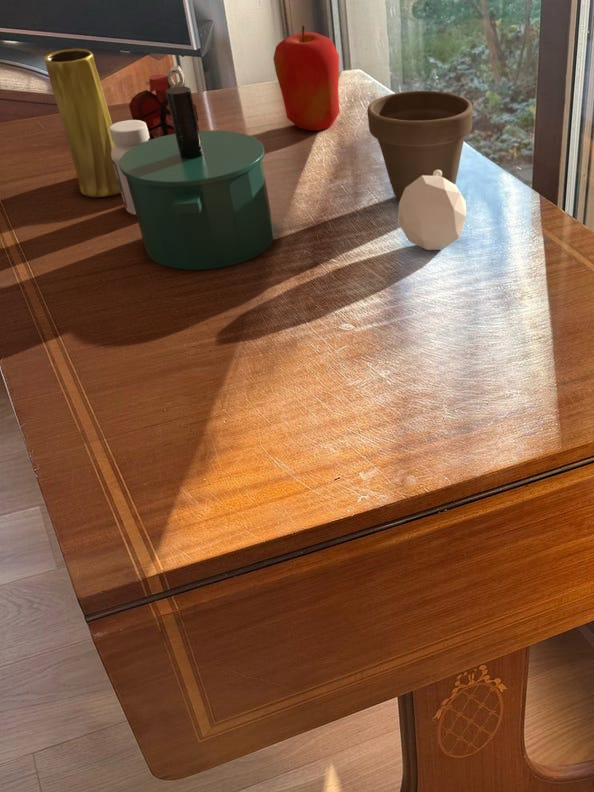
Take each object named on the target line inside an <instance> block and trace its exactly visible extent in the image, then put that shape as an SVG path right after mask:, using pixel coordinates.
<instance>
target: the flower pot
mask: <svg viewBox="0 0 594 792" xmlns="http://www.w3.org/2000/svg"><path fill="white" fill-rule="evenodd" d="M473 112H474V105H473V103H472V102H471V101H470V100H468V99H467V98H465V97H464V96H461V95H458V94H456V93H455V94H454V93H449V92H445V91H439V90H438V91H437V90H408V91H401V92H395V93H391V94H386V95H384V96H381V97H378V98H376V99H374V100H373V101H371V102H370V103H369V105H368V106H367V111H366V113H367V119H368V121H367V122H368V130H369V133H370V135H371V136H372V137H374V138H375V139H376V140H377V141H378V145H379V147H380V151H381V154H382V158H383V161H384V165H385V169H386V172H387V175H388V179H389V182H390V185H391V188H392V192H393V195H394V197H395V200H396V201H397V203H399V202H400V199H401V197H402V195H403V192H404V190H405V188H406V187H407V186H409V185H410V184H411V183H413V182H414V181H415V180H417V179H418V178H419V177H421V176H422V175H423V176H433V173H434V171H435V170H440V171H441V172H442V176H441V177H443V178H445V179H447V180H448V181H450V182H451V183H453V184H455V185H456V182H457V178H458V173H459V168H460V162H461V158H462V152H463V146H464V143H465V142H464V141H465V138H466V137H467V136H468V135H469V134H470V133H471V132H472V129H473V114H474V113H473Z"/></svg>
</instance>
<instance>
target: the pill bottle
mask: <svg viewBox="0 0 594 792" xmlns="http://www.w3.org/2000/svg"><path fill="white" fill-rule="evenodd" d="M109 129H110V133H111V138H112V140H113V142H114V143H115V144H116V146H115V147H114V148H113V150H112V152H111V158H112V162H113V166H114V169H115V173H116V176H117V180H118V183H119V187H120V190H121V193H120V194H121V197H122V200H123V204H124V208H125V210H126V211H127V212H128V213H129V214H130V215H134V216H136V212H135V208H134V204H133V201H132V197H131V193H130V190H129V186H128V182H127V179H126V176H125V175H123V173H122V172H121V169H120V165H119V162H120V159H121V157H122V156H123V155H124V154H125V153H126V152H127V151H128V150H130V149H131V148H133V147H135V146H137V145H139V144H141V143H143V142H146V141H149V140H148V139H149V132H148V129H147V125H146V123H145V122H143V121H140V120H133V119H127V120H126V119H125V120H122V121H117V122H114V123H112V125H111V126H110V127H109Z"/></svg>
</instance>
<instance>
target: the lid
mask: <svg viewBox="0 0 594 792" xmlns="http://www.w3.org/2000/svg"><path fill="white" fill-rule="evenodd" d="M166 96H167V100H168V105H169V109H170V113H171V118H172V122H173V126H174V131H175V134H171V135H166V136H162V137H158V138H155V139H152V140H148V141H146V142H143V143H141V144H139V145H137V146H135V147H133V148H131V149H130V150H128V151H127V152H126V153H125V154H124V155H123V156H122V157H121V159H120V162H119V165H120V169H121V172H122V173H123V175H125V176H126V177H127V178H129V179H130V180H133V181H135V182H138V183H142V184H147V185H153V186H164V187H183V186H196V185H203V184H209V183H215V182H219V181H223V180H227V179H230V178H233V177H236V176H239V175H241V174H243V173H246V172H248V171H250V170H251V169H253V168H255V167H256V166H257V165H258V164H259V163H260V162H261V161H262V162H263V160H264V158H265V146H264V145H263V143H262V142H261V141H260V140H258V139H257V138H256V137H253V136H251V135H249V134H245V133H240V132H235V131H231V130H230V131H228V130H207V129H206V130H200V127H199V122H197V118H196V113H195V108H194V105H195V104H194V99H193V95H192V91H191V88H190V87H188V86H183V87H173V88H169V89H167V90H166Z"/></svg>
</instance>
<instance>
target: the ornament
mask: <svg viewBox="0 0 594 792" xmlns="http://www.w3.org/2000/svg"><path fill="white" fill-rule="evenodd" d="M441 176H442V172H441V171H440V170H435V171H434V173H433V176H423V175H422V176H421V177H419V178H418V179H417V180H415V181H414V182H413V183H411V184H410V185H409V186H407V187H406V188H405V190H404V192H403V195H402V197H401V199H400V202H398V225H399V227H400V229H401V231H402V232H403V234H404V235H405V236H406V238H407V240H408V241H409V242H410V243H412V244H414V245H416V246H418V247H419V248H422V249H424V250H426V251H441V250H442V251H443V250H444V249H446V248H447V247H449V246H450V245H452V244H453V243H454V242H456V241H457V240H459V239H460V238H461V235H462V232H463V230H464V226H465V224H466V220H467V219H466V218H467V202H466V199H465V198H464V196H463V194H462V193H461V191H460V190H459V188H458V187H457V185H456V183H455V184H453V183H451V182H450V181H448V180H447V179H445V178H443V177H441Z"/></svg>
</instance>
